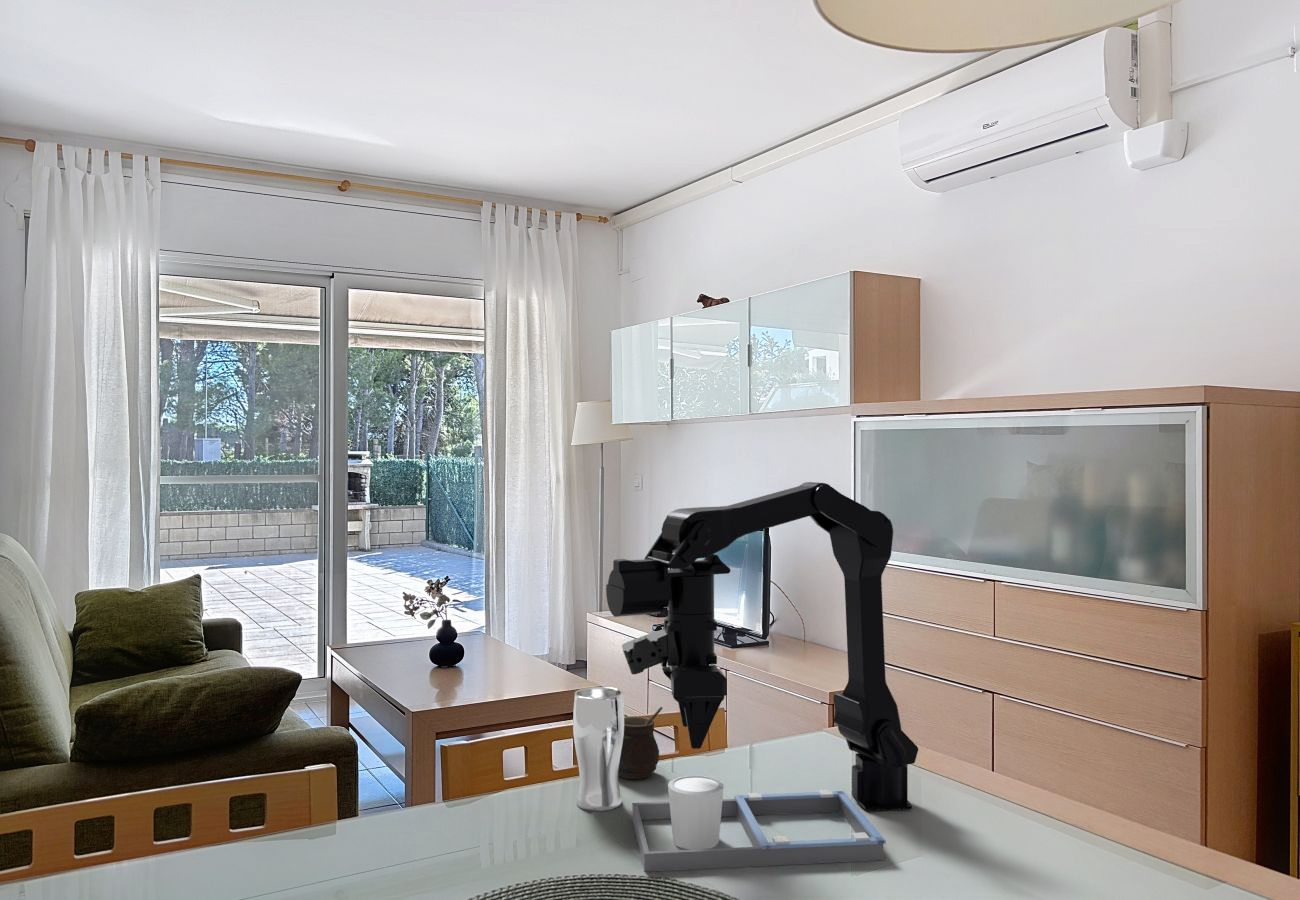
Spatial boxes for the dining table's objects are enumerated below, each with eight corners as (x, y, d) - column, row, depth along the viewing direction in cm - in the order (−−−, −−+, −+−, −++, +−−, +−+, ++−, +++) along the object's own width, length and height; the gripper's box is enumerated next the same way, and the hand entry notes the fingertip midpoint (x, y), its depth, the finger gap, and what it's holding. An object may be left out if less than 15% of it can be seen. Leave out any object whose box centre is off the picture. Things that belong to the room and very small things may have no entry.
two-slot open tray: (843, 809, 130) (843, 788, 130) (885, 860, 114) (885, 837, 114) (632, 817, 128) (632, 797, 128) (644, 872, 111) (644, 848, 111)
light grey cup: (730, 834, 122) (730, 777, 122) (715, 855, 116) (715, 796, 116) (677, 827, 125) (677, 772, 124) (660, 848, 118) (660, 789, 118)
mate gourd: (605, 769, 147) (606, 702, 147) (654, 765, 149) (655, 699, 149) (615, 784, 140) (616, 714, 140) (666, 781, 142) (667, 711, 142)
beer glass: (627, 794, 136) (627, 686, 136) (621, 813, 129) (621, 699, 129) (578, 793, 137) (577, 685, 137) (569, 811, 130) (568, 698, 130)
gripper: (622, 600, 130) (622, 717, 130) (630, 625, 112) (630, 763, 112) (705, 599, 131) (706, 715, 131) (727, 624, 112) (727, 760, 112)
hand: (691, 737), depth 122 cm, fingers open, 9 cm apart
